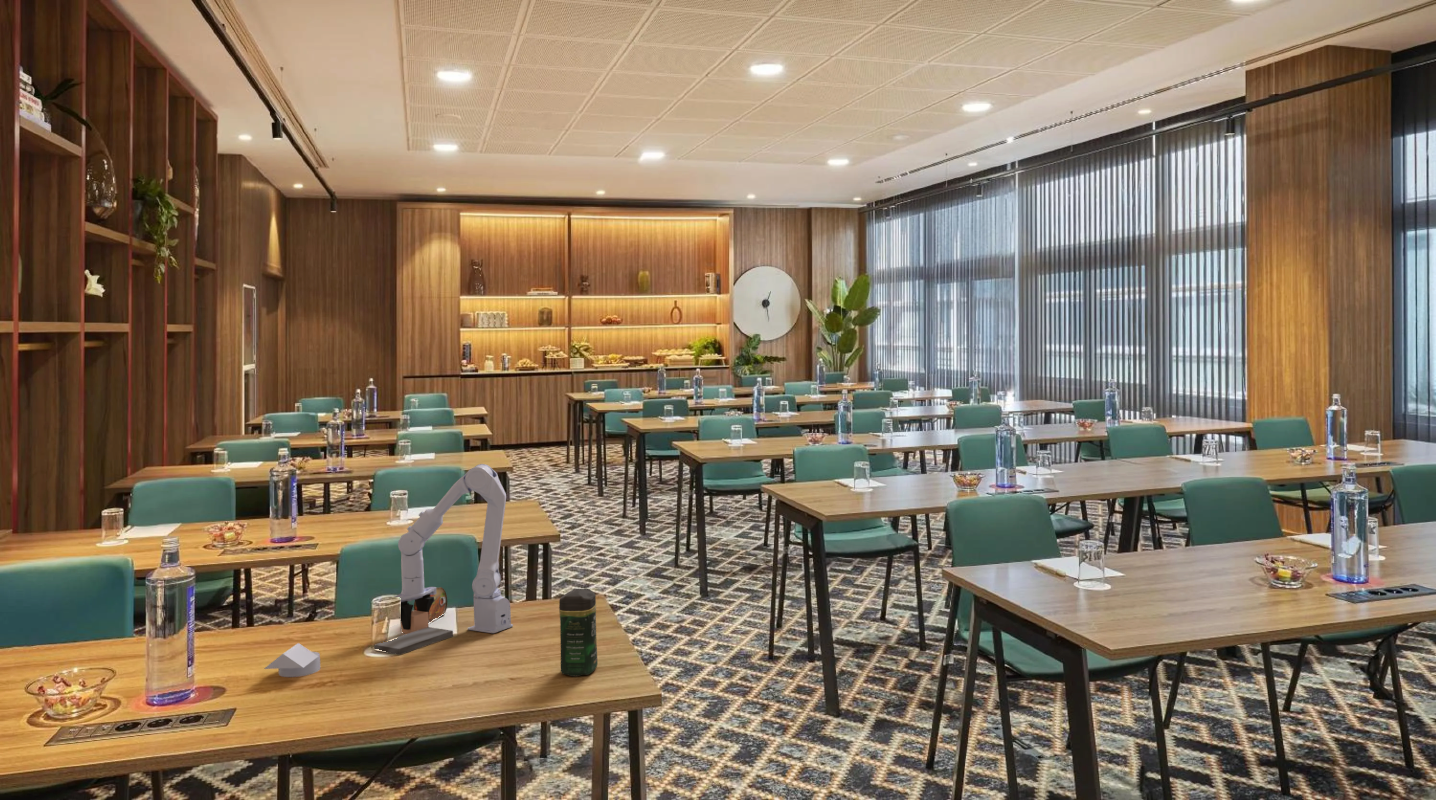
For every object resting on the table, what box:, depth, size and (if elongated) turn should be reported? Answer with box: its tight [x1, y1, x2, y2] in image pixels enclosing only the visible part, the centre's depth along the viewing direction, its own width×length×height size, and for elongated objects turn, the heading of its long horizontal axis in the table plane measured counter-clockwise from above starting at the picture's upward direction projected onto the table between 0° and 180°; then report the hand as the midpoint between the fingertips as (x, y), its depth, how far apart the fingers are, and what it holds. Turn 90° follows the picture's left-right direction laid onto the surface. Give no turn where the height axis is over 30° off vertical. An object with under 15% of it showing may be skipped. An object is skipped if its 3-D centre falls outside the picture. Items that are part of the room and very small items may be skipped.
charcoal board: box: [373, 626, 454, 656], centre depth 250 cm, size 9×18×2 cm, turn 150°
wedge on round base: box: [263, 642, 321, 678], centre depth 227 cm, size 9×7×13 cm
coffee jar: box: [558, 588, 598, 677], centre depth 223 cm, size 10×8×19 cm
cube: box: [400, 609, 430, 635], centre depth 261 cm, size 5×5×5 cm
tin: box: [413, 586, 448, 623], centre depth 273 cm, size 15×3×8 cm, turn 168°
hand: (414, 626), depth 261 cm, fingers closed on cube, 5 cm apart
